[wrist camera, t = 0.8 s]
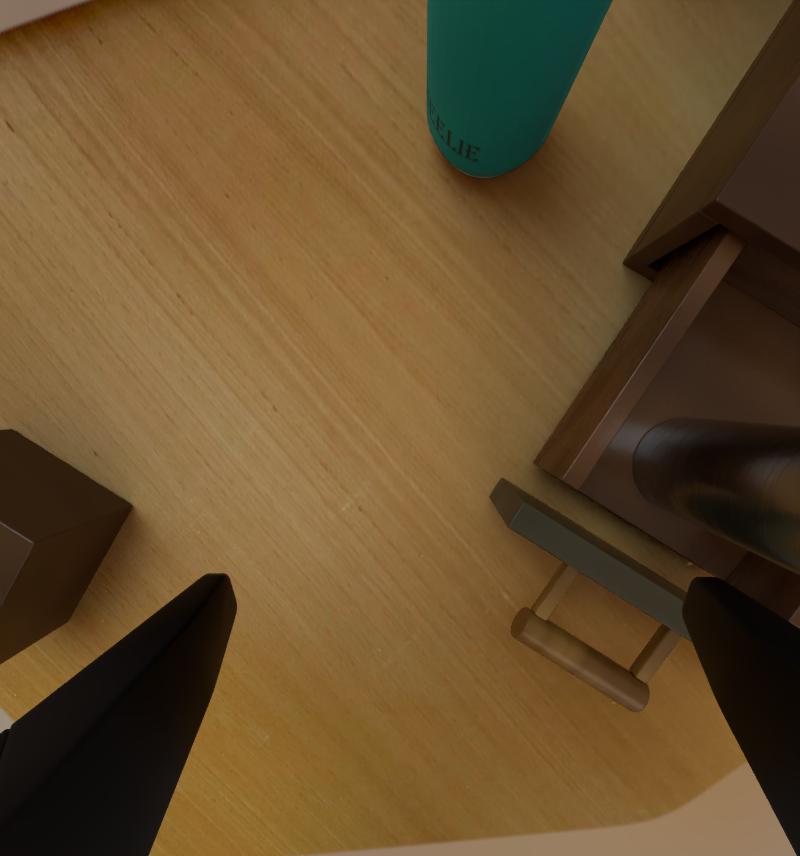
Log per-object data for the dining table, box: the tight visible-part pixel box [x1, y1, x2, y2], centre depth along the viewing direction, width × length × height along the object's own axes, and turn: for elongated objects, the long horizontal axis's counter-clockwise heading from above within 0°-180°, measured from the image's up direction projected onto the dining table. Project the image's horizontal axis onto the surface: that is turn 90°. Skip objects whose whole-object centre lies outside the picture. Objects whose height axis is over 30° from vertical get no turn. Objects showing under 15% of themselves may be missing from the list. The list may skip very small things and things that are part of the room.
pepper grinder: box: [633, 417, 800, 575], centre depth 14 cm, size 4×4×12 cm
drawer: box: [489, 223, 800, 712], centre depth 18 cm, size 19×13×5 cm
